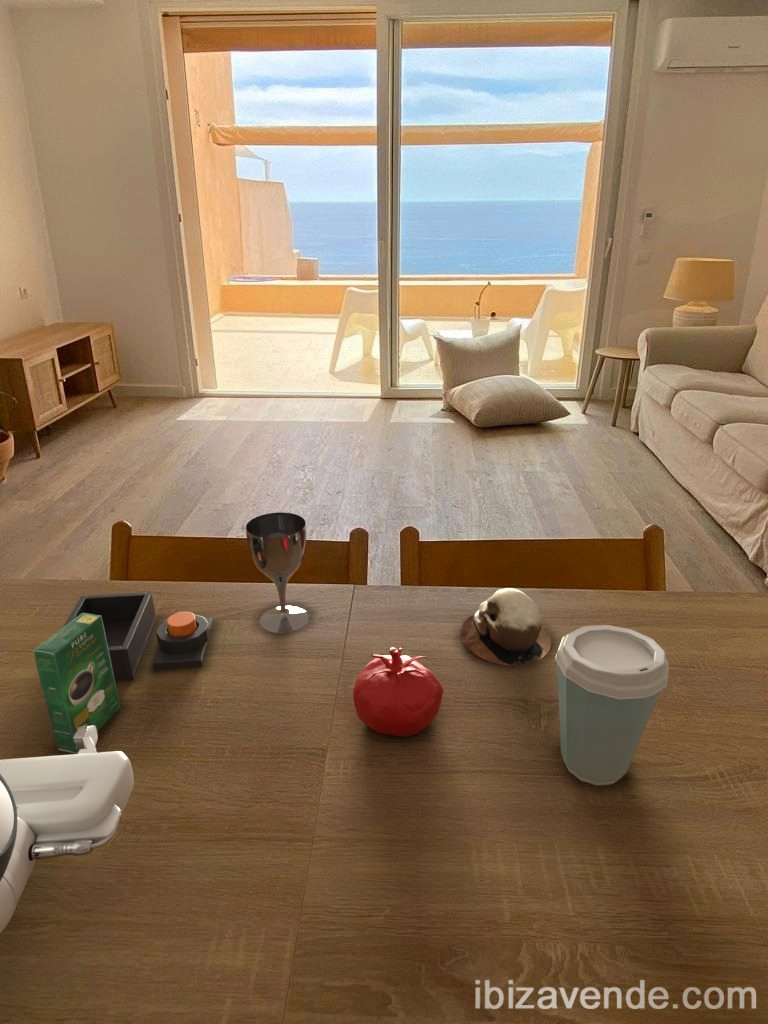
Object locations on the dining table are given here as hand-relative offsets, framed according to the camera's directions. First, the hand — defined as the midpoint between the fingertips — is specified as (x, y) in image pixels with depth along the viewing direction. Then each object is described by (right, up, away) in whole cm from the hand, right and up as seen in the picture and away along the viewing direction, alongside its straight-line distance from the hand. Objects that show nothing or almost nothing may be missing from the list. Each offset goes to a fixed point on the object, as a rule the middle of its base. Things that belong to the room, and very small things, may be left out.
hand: (37, 734), depth 65 cm
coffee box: (-1, -4, +14) cm, 15 cm away
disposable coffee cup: (+55, -6, +8) cm, 56 cm away
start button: (+6, +5, +27) cm, 28 cm away
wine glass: (+18, +5, +34) cm, 39 cm away
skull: (+49, +4, +28) cm, 57 cm away
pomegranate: (+34, -3, +15) cm, 37 cm away
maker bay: (-4, +2, +27) cm, 28 cm away
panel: (+6, +3, +28) cm, 29 cm away
